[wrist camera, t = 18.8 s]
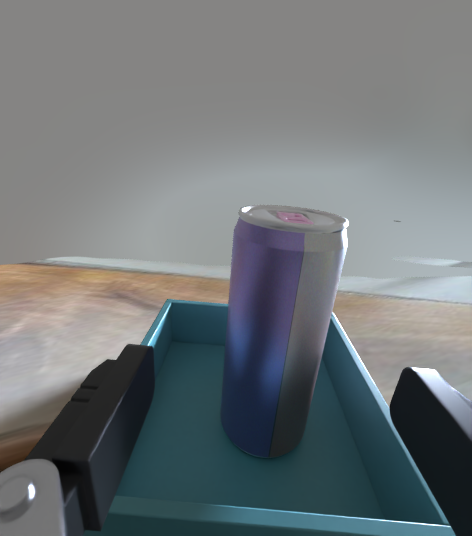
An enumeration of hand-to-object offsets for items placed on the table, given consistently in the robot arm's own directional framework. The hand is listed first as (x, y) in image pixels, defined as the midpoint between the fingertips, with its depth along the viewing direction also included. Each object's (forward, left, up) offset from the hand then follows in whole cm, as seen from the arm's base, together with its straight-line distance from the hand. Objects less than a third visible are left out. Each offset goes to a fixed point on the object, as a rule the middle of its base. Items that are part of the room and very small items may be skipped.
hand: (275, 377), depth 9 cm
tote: (+7, +4, -11) cm, 14 cm away
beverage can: (+7, +3, -11) cm, 13 cm away
